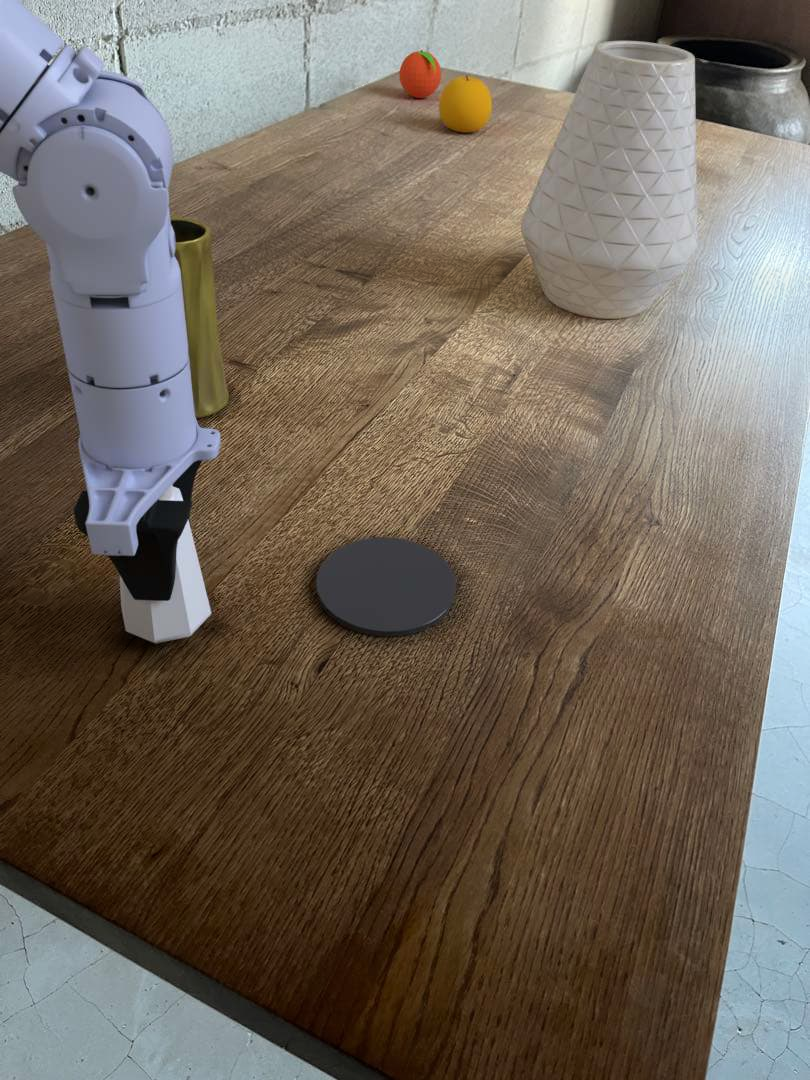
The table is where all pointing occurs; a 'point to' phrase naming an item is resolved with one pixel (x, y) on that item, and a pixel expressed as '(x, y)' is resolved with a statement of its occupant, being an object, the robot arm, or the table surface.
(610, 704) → the table surface
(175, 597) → the pepper shaker
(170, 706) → the table surface
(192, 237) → the vase
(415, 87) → the clementine
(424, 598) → the slate coaster
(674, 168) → the vase
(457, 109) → the apple
